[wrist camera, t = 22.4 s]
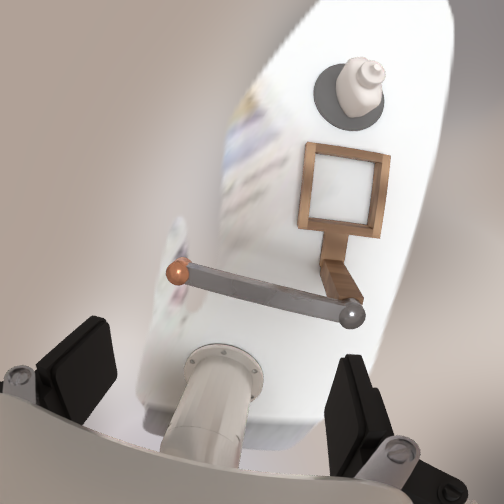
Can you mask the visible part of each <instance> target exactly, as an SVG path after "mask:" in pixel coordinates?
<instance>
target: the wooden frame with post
mask: <svg viewBox="0 0 504 504" xmlns="http://www.w3.org/2000/svg"><path fill="white" fill-rule="evenodd" d="M315 153H316V154H323V155H330V156H337V157H344V158H350V159H356V160H362V161H368V162H373V163H375V167H374V177H373V185H372V193H371V201H370V208H369V215H368V222H367V225H365V224H357V223H350V222H342V221H335V220H327V219H319V218H311V217H309V208H310V200H311V191H312V182H313V172H314V162H315ZM390 159H391V156H390V155H385V154H380V153H375V152H370V151H364V150H358V149H353V148H346V147H340V146H334V145H327V144H320V143H312V142H307V143H306V145H305V156H304V166H303V176H302V186H301V195H300V204H299V213H298V222H297V225H298V229H307V230H316V231H324V236H323V243H322V250H321V256H320V263H319V265H320V267H321V271H320V276H321V279H322V282H323V285H324V288H325V291H326V295H327V297H329V298H333V299H338V300H342V301H344V300H345V299H349V298H353V299H356V300H358V301H359V302H360V303H361V305H362V304H363V300H364V297H363V296H362V294H361V292H360V290H359V289H358V287H357V285H356V283H355V282H354V280H353V278H352V277H351V275H350V273H349V271H348V270H347V268H346V266H345V265H344V260H345V254H346V248H347V242H348V236H349V235H356V236H364V237H371V238H379V239H380V234H381V229H382V222H383V216H384V209H385V202H386V195H387V187H388V179H389V169H390Z"/></svg>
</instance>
